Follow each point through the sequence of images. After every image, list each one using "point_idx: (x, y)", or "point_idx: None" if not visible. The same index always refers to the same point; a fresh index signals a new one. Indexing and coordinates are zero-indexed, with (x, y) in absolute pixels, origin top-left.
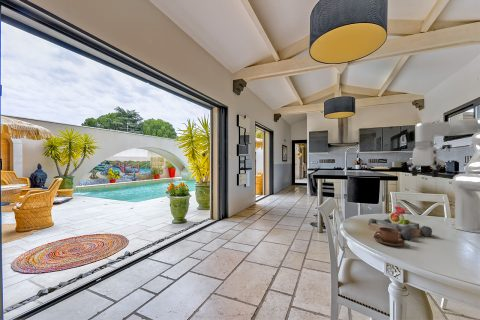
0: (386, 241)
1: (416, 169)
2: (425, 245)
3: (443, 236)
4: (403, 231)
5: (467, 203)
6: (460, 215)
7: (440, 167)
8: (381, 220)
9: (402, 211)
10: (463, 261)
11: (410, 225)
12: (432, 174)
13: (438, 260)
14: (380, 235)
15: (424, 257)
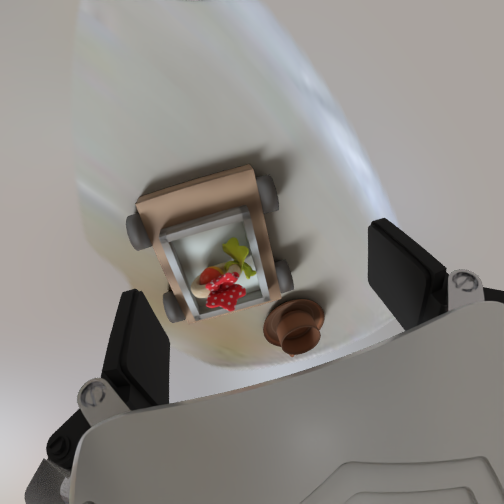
0: (301, 332)
1: (134, 371)
2: (322, 253)
3: (268, 129)
4: (287, 291)
5: None
6: None
7: (493, 298)
8: (196, 305)
9: (239, 288)
10: None
11: (258, 251)
12: (384, 299)
13: None
14: (291, 343)
15: (362, 298)
